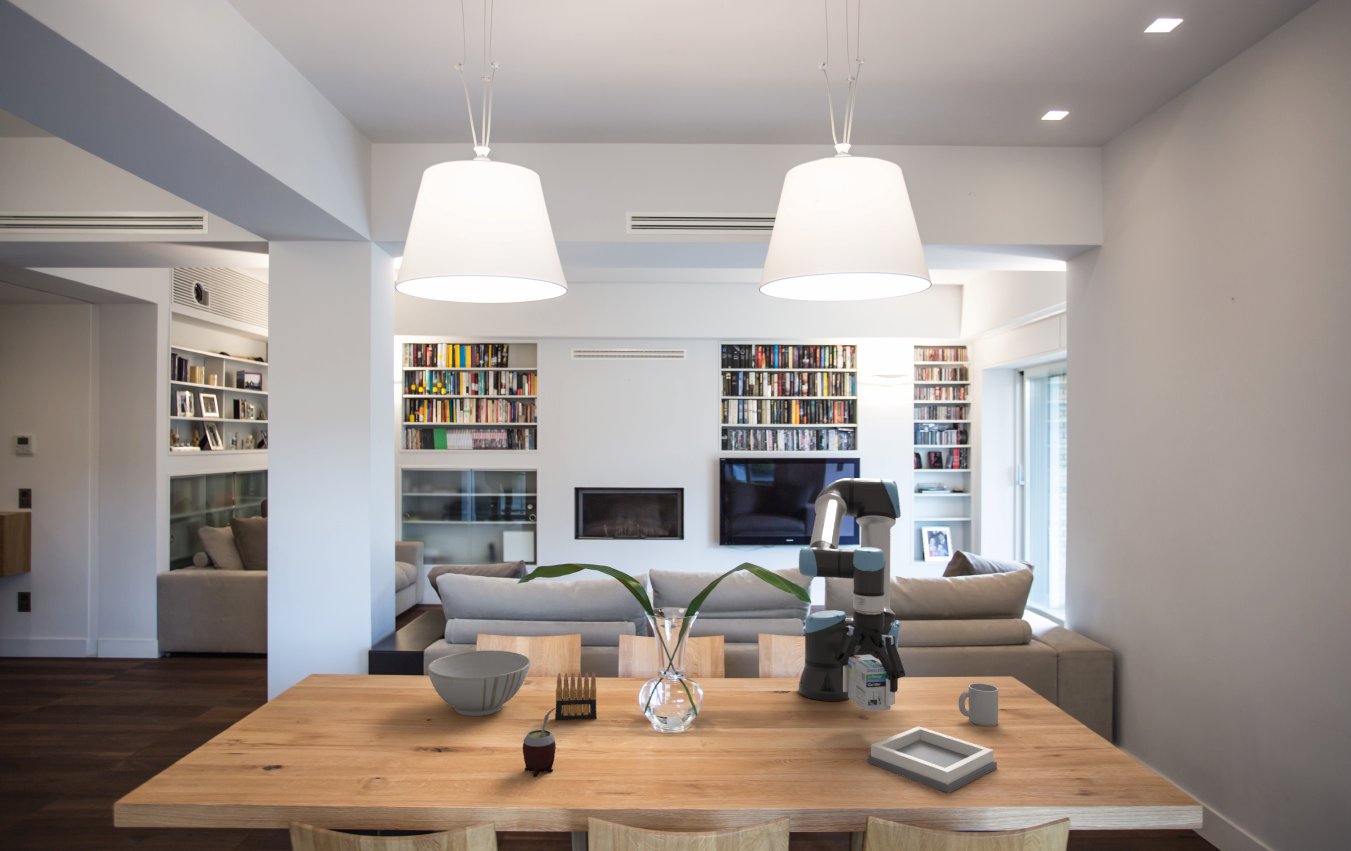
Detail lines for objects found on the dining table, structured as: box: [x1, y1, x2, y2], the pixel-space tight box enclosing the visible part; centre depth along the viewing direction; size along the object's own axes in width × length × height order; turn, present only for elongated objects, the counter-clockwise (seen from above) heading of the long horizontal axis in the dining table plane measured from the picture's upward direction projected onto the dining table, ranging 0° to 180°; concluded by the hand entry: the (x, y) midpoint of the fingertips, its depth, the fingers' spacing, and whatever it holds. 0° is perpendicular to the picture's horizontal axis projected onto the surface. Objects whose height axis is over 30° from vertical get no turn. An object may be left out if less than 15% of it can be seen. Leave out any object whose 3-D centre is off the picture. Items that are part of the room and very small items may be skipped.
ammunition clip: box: [554, 671, 598, 722], centre depth 202 cm, size 11×2×12 cm, turn 98°
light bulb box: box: [848, 655, 891, 712], centre depth 193 cm, size 11×7×11 cm, turn 13°
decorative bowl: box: [427, 649, 531, 717], centre depth 209 cm, size 27×27×12 cm
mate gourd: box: [522, 707, 557, 778], centre depth 169 cm, size 8×8×15 cm
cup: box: [958, 682, 999, 727], centre depth 203 cm, size 7×10×9 cm
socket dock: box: [867, 725, 998, 794], centre depth 174 cm, size 20×20×4 cm
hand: (868, 697), depth 193 cm, fingers closed on light bulb box, 12 cm apart
